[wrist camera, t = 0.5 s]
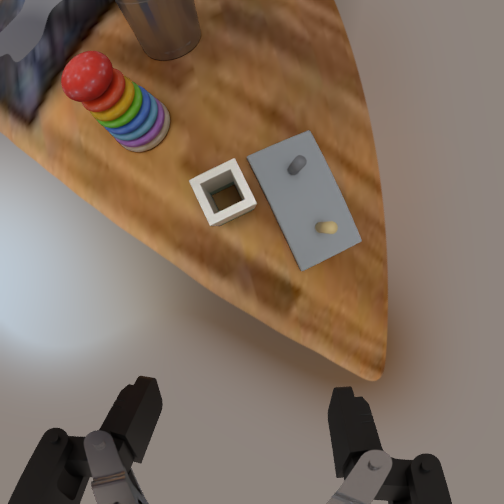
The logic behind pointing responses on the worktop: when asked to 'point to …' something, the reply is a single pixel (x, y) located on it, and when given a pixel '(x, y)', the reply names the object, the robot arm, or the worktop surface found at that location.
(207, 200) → the sleeve
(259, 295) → the worktop surface
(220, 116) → the worktop surface
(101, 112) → the stacking toy
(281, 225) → the pin board
